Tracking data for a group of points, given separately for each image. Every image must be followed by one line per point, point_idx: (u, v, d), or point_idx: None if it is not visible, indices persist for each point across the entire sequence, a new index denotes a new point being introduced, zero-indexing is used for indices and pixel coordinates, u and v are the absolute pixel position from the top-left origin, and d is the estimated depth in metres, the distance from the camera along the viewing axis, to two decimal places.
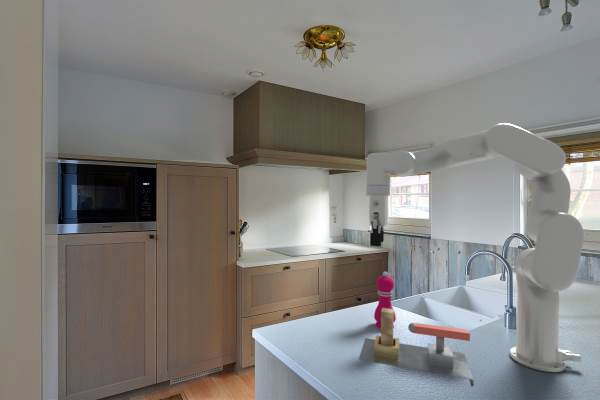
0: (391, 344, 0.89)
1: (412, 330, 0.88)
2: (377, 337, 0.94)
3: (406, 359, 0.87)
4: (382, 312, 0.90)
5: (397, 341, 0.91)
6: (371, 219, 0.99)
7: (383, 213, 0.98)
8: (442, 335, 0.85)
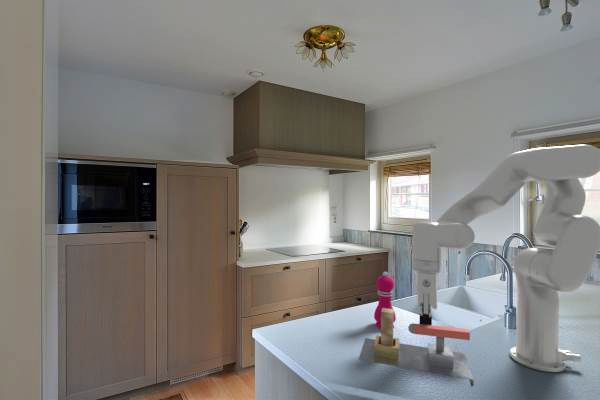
0: (391, 344, 0.89)
1: (412, 331, 0.87)
2: (377, 337, 0.94)
3: (406, 359, 0.87)
4: (382, 312, 0.90)
5: (397, 341, 0.91)
6: None
7: (435, 295, 0.85)
8: (442, 335, 0.85)
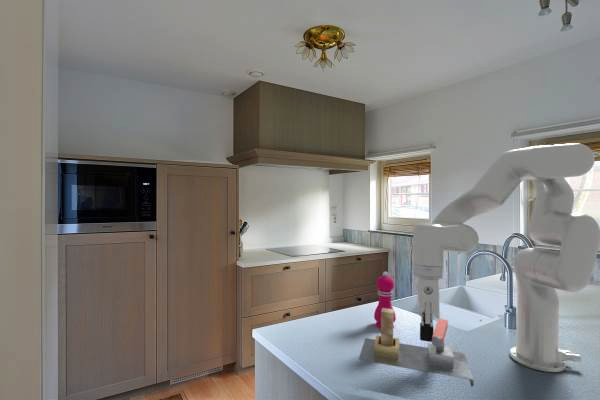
0: (391, 344, 0.89)
1: (442, 344, 0.80)
2: (377, 337, 0.94)
3: (406, 359, 0.87)
4: (382, 312, 0.90)
5: (397, 341, 0.91)
6: (421, 315, 0.81)
7: (437, 303, 0.78)
8: (445, 333, 0.86)
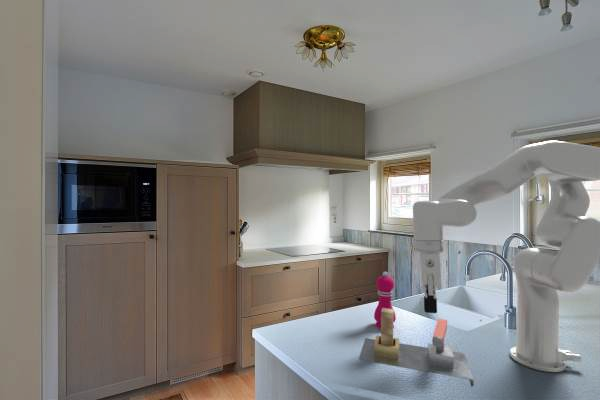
0: (391, 344, 0.89)
1: (442, 344, 0.80)
2: (377, 337, 0.94)
3: (406, 359, 0.87)
4: (382, 312, 0.90)
5: (397, 341, 0.91)
6: (424, 288, 0.85)
7: (439, 275, 0.82)
8: (445, 333, 0.86)
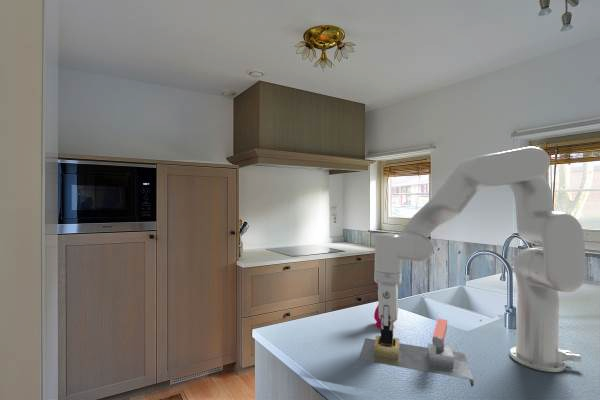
0: None
1: (442, 344, 0.80)
2: (377, 337, 0.94)
3: (406, 359, 0.87)
4: None
5: (397, 341, 0.91)
6: (381, 317, 0.88)
7: (394, 307, 0.86)
8: (445, 333, 0.86)
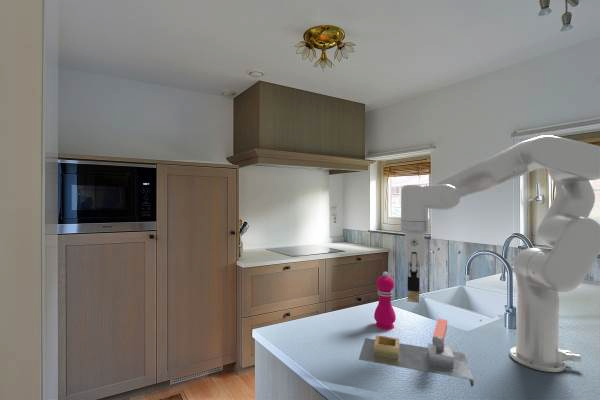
0: (418, 292, 0.92)
1: (442, 344, 0.80)
2: (377, 337, 0.94)
3: (406, 359, 0.87)
4: None
5: (397, 341, 0.91)
6: (408, 264, 0.90)
7: (422, 253, 0.88)
8: (445, 333, 0.86)
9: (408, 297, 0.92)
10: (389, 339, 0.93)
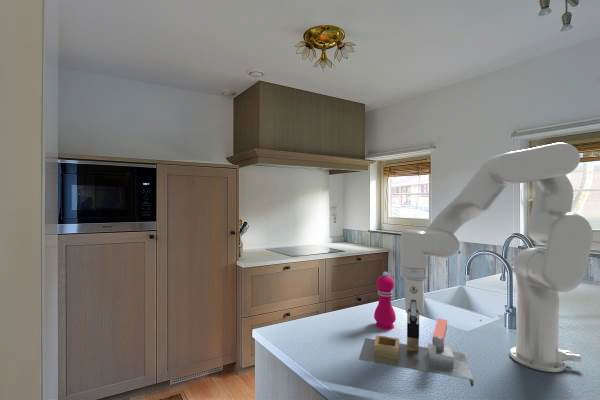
0: (417, 340, 0.92)
1: (442, 344, 0.80)
2: (377, 337, 0.94)
3: (406, 359, 0.87)
4: None
5: (397, 341, 0.91)
6: (408, 308, 0.89)
7: (421, 301, 0.88)
8: (445, 333, 0.86)
9: (408, 345, 0.93)
10: (389, 339, 0.93)
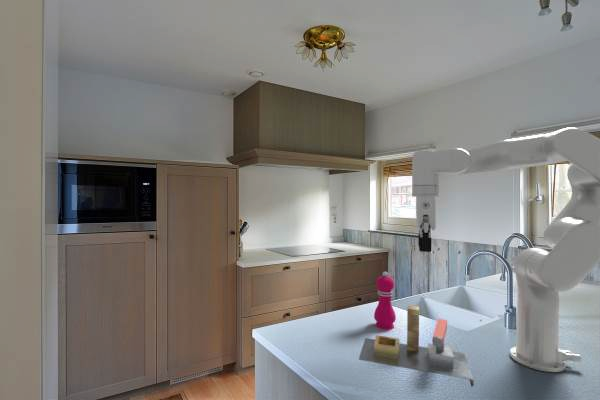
0: (417, 340, 0.92)
1: (442, 344, 0.80)
2: (377, 337, 0.94)
3: (406, 359, 0.87)
4: (408, 309, 0.92)
5: (397, 341, 0.91)
6: (420, 222, 0.91)
7: (434, 216, 0.90)
8: (445, 333, 0.86)
9: (408, 345, 0.93)
10: (389, 339, 0.93)
